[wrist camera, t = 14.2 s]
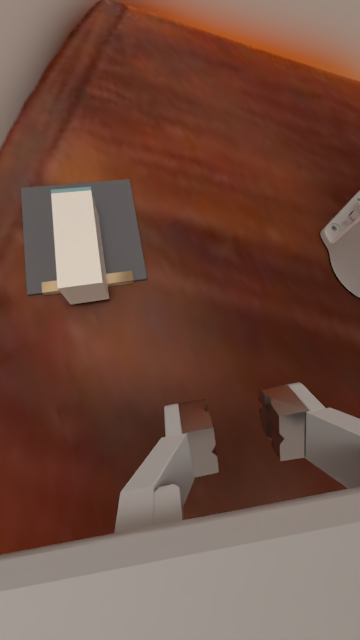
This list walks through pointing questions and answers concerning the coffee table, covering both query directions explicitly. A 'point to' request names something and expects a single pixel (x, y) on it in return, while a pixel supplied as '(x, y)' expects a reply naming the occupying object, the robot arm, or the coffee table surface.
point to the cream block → (78, 246)
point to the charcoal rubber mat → (114, 226)
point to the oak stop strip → (112, 280)
